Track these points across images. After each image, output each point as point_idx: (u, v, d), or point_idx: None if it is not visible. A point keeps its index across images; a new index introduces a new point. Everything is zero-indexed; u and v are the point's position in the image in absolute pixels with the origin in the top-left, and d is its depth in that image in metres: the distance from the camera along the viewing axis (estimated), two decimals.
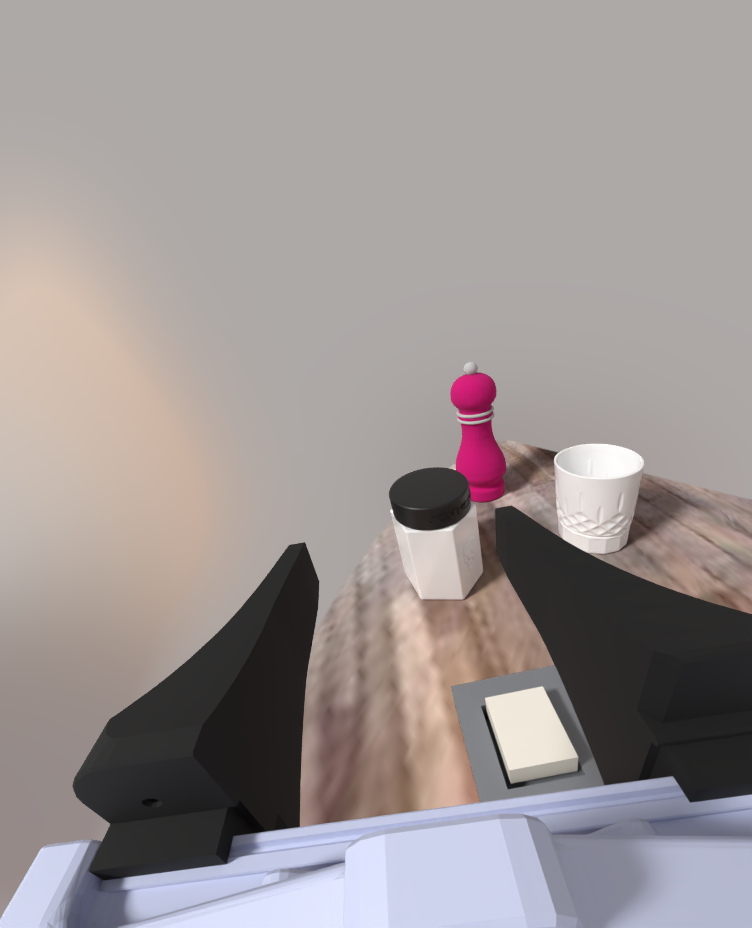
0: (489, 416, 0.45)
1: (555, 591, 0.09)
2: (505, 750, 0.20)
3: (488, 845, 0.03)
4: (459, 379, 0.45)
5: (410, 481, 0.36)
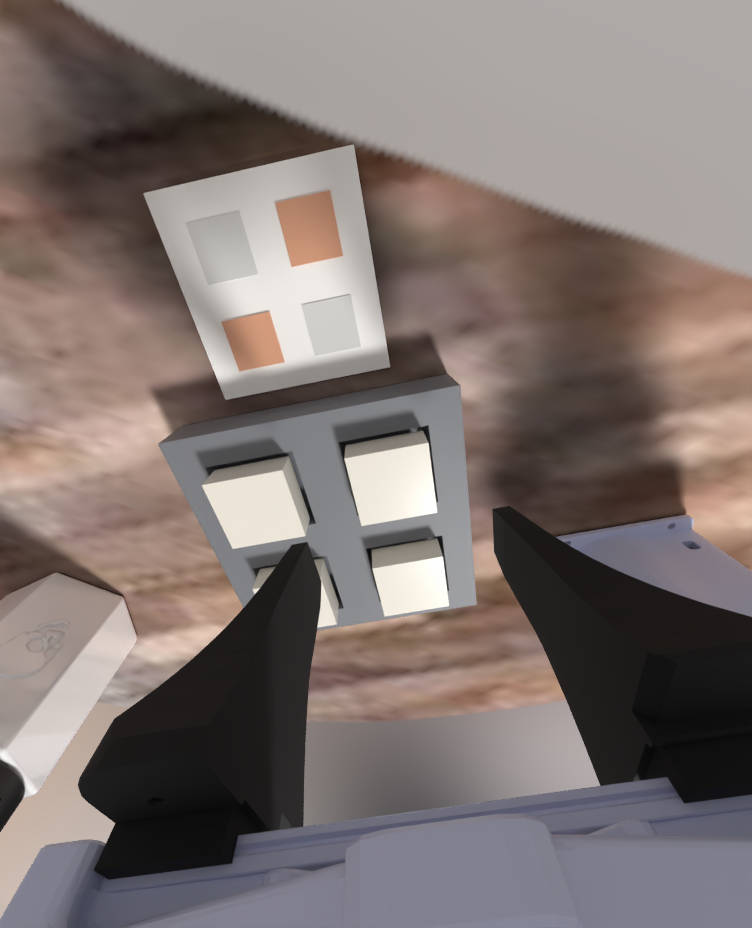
0: None
1: (551, 592, 0.09)
2: (321, 625, 0.21)
3: (488, 845, 0.03)
4: None
5: None
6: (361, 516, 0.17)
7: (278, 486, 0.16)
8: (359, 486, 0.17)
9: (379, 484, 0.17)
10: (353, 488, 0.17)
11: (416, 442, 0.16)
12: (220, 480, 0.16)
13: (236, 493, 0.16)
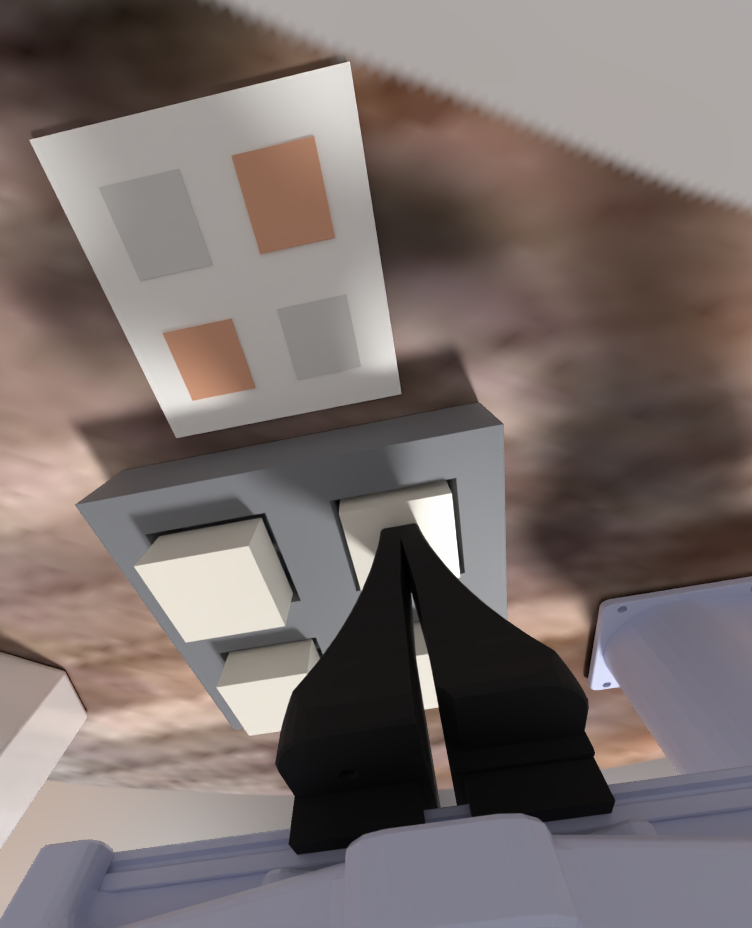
0: None
1: None
2: None
3: (488, 845, 0.03)
4: None
5: None
6: (361, 582, 0.13)
7: (244, 566, 0.12)
8: (359, 547, 0.13)
9: None
10: (351, 549, 0.13)
11: (434, 491, 0.12)
12: (161, 559, 0.11)
13: (185, 575, 0.12)
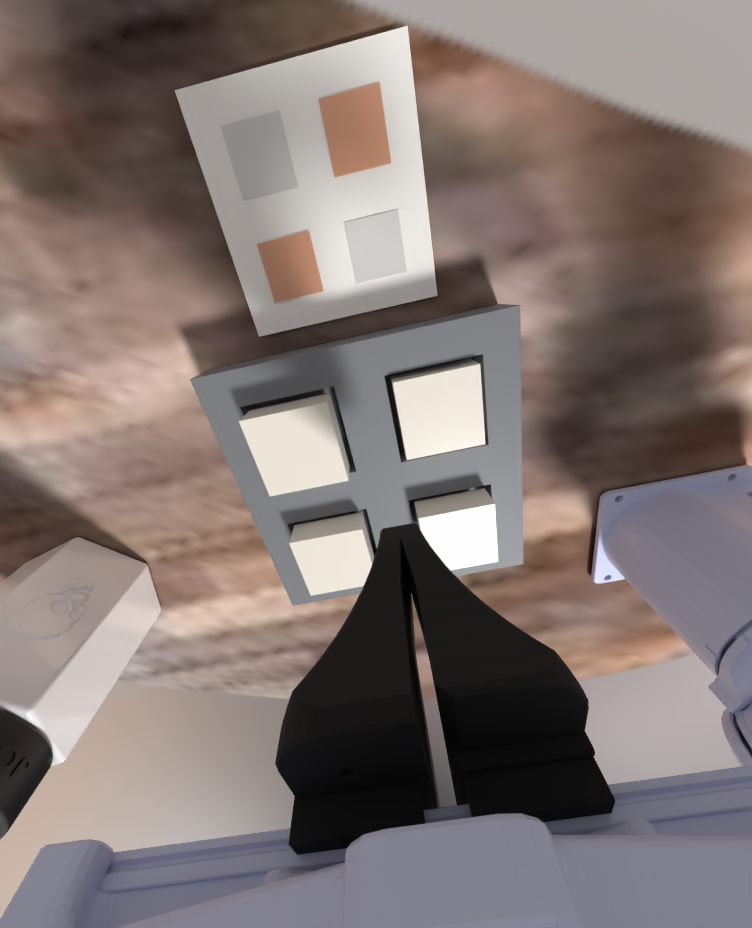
0: None
1: None
2: (360, 584, 0.19)
3: (488, 845, 0.03)
4: None
5: None
6: (407, 449, 0.17)
7: (321, 422, 0.15)
8: (407, 415, 0.16)
9: (427, 412, 0.16)
10: (400, 417, 0.16)
11: (466, 365, 0.15)
12: (258, 416, 0.15)
13: (276, 430, 0.15)
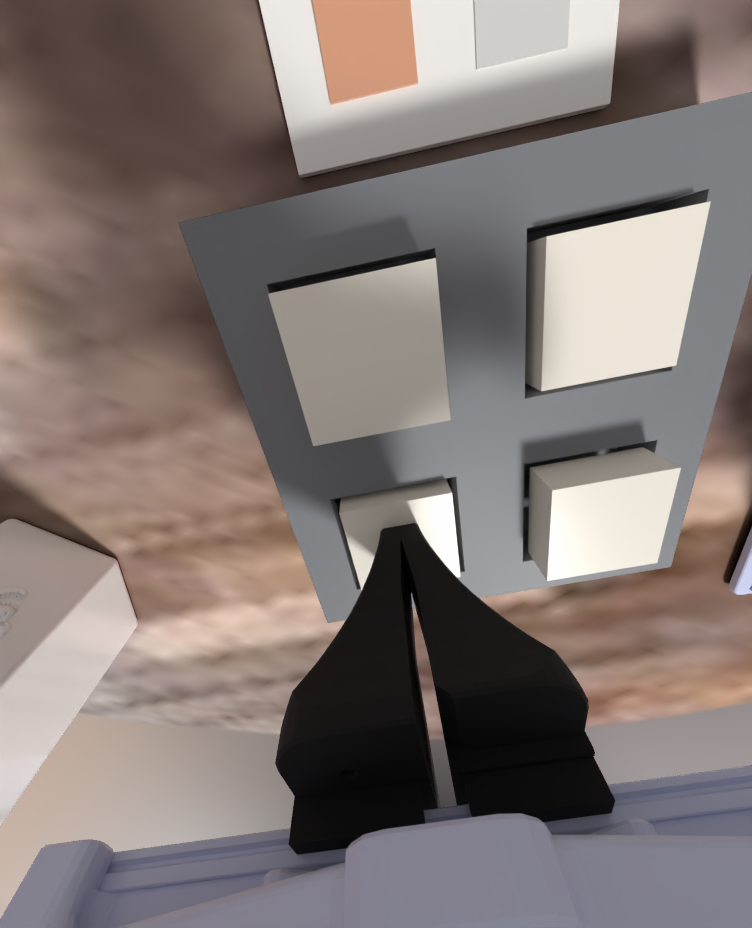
0: None
1: None
2: None
3: (488, 845, 0.03)
4: None
5: None
6: (546, 370, 0.10)
7: (420, 300, 0.08)
8: (558, 305, 0.09)
9: (595, 300, 0.09)
10: (547, 308, 0.09)
11: (677, 209, 0.09)
12: None
13: (336, 315, 0.08)
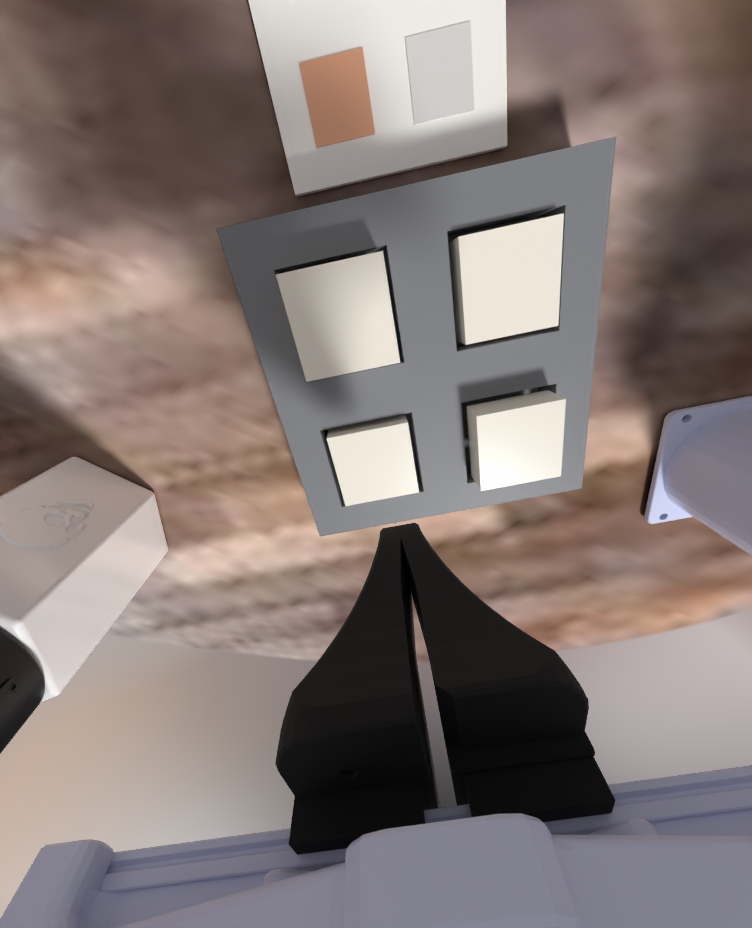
0: None
1: None
2: (400, 493, 0.18)
3: (488, 846, 0.03)
4: None
5: None
6: (467, 329, 0.14)
7: (374, 279, 0.13)
8: (471, 282, 0.14)
9: (496, 279, 0.14)
10: (463, 285, 0.14)
11: (545, 218, 0.13)
12: (299, 269, 0.12)
13: (320, 289, 0.13)
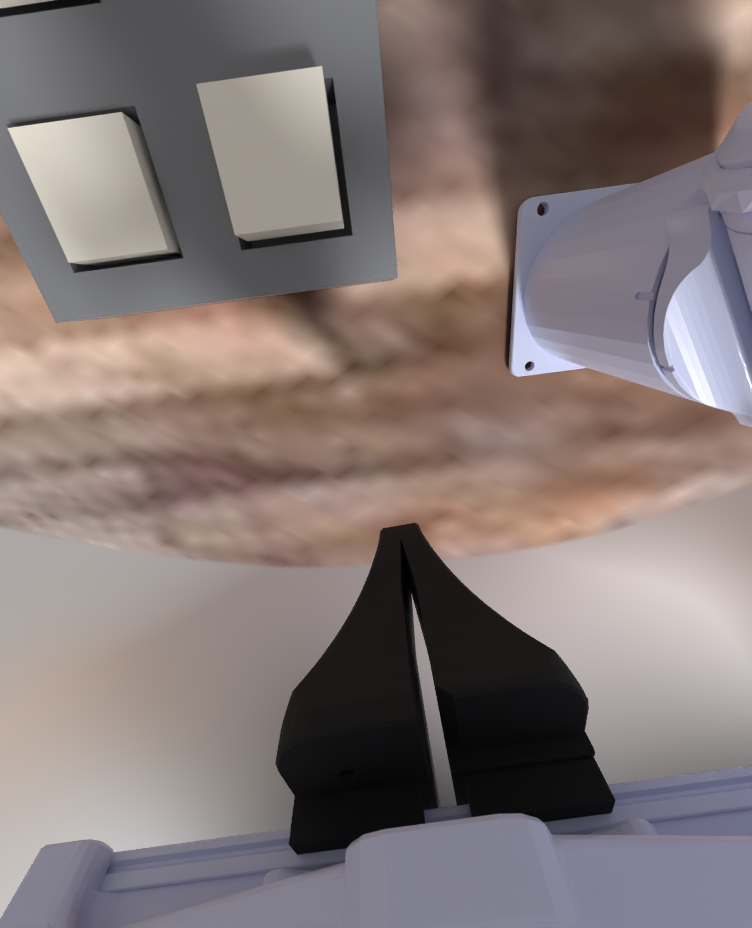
0: None
1: None
2: (142, 248, 0.13)
3: (488, 845, 0.03)
4: None
5: None
6: None
7: None
8: None
9: None
10: None
11: None
12: None
13: None
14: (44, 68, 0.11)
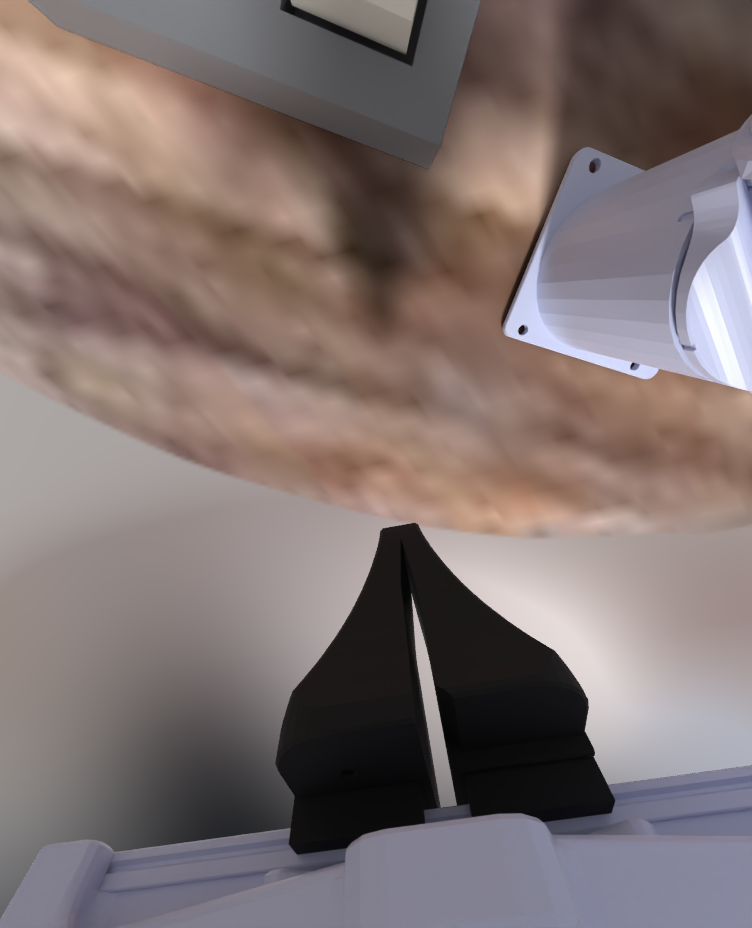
0: None
1: None
2: None
3: (488, 845, 0.03)
4: None
5: None
6: None
7: None
8: None
9: None
10: None
11: None
12: None
13: None
14: None
